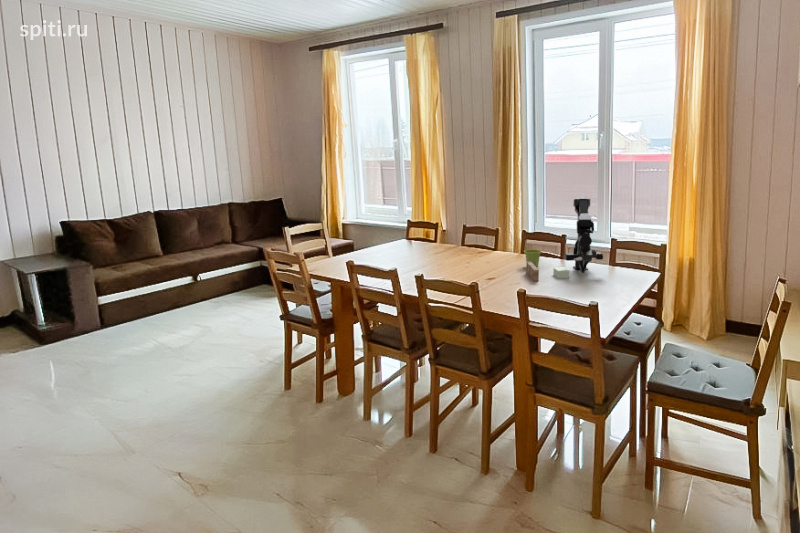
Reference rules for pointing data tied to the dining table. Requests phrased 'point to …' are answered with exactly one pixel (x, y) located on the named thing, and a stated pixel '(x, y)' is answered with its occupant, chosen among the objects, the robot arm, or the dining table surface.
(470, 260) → the dining table surface
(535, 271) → the walnut batten
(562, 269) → the sage block
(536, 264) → the plant pot
